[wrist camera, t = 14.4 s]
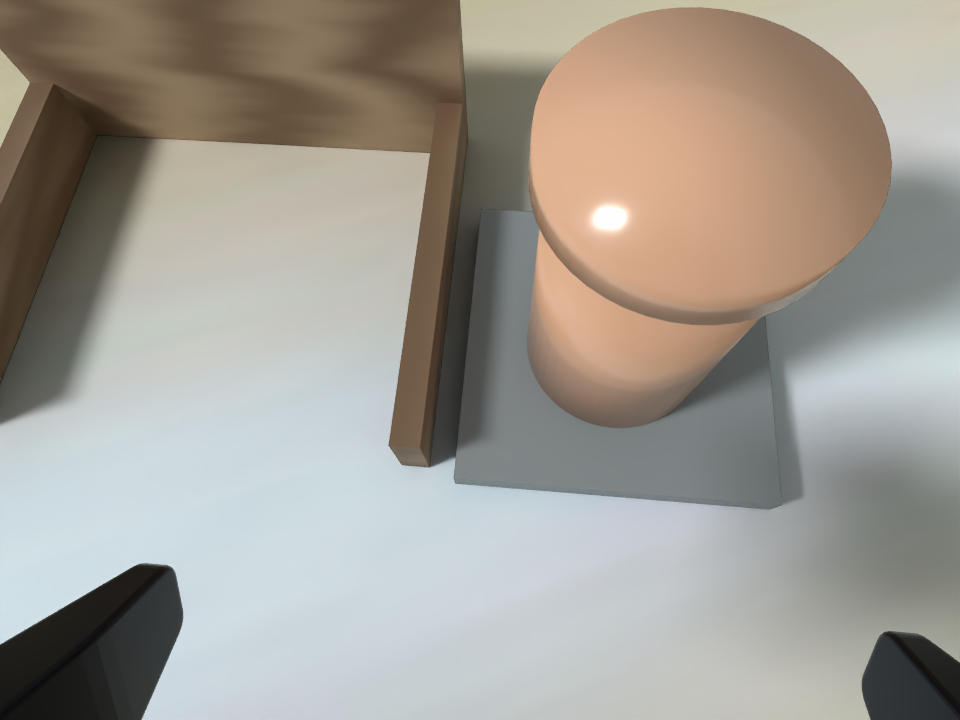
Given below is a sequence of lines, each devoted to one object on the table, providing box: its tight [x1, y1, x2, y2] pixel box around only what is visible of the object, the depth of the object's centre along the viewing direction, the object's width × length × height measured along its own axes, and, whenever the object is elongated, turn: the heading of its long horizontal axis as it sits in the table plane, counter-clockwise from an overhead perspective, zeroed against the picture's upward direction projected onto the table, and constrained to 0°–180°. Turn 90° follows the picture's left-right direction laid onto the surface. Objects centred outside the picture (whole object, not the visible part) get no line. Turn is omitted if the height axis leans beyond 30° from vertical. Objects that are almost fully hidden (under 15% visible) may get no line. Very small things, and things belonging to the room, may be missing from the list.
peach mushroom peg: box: [527, 8, 892, 428], centre depth 18 cm, size 7×7×11 cm
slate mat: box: [454, 209, 782, 509], centre depth 23 cm, size 11×11×1 cm
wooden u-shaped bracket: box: [0, 0, 468, 467], centre depth 22 cm, size 18×15×8 cm
